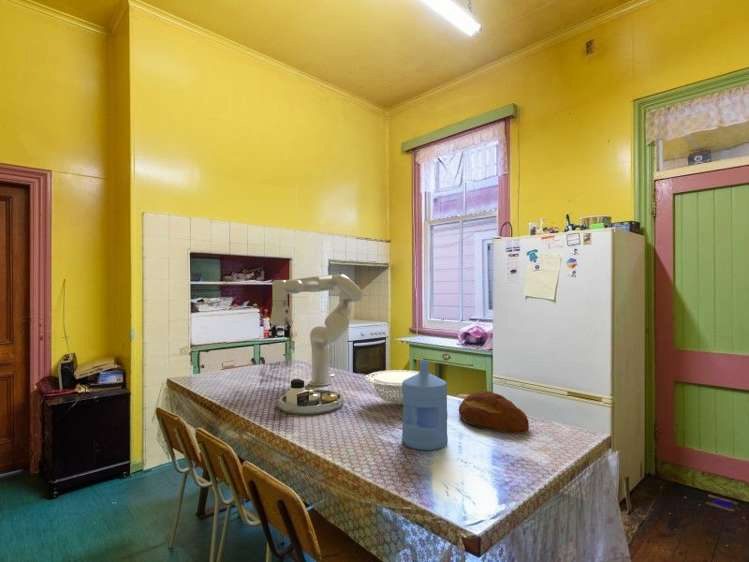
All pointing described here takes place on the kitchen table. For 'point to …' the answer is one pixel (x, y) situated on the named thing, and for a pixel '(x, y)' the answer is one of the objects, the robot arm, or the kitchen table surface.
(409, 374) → the colander
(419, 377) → the water jug
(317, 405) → the carrier
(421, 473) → the kitchen table surface
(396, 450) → the kitchen table surface
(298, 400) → the medicine bottle
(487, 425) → the bread
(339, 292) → the robot arm
